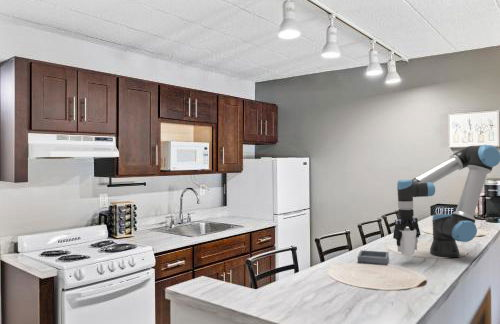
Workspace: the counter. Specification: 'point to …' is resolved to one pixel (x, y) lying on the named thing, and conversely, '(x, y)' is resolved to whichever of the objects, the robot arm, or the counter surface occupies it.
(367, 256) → the bin
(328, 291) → the counter surface
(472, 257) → the counter surface
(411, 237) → the foam cup
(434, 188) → the robot arm
